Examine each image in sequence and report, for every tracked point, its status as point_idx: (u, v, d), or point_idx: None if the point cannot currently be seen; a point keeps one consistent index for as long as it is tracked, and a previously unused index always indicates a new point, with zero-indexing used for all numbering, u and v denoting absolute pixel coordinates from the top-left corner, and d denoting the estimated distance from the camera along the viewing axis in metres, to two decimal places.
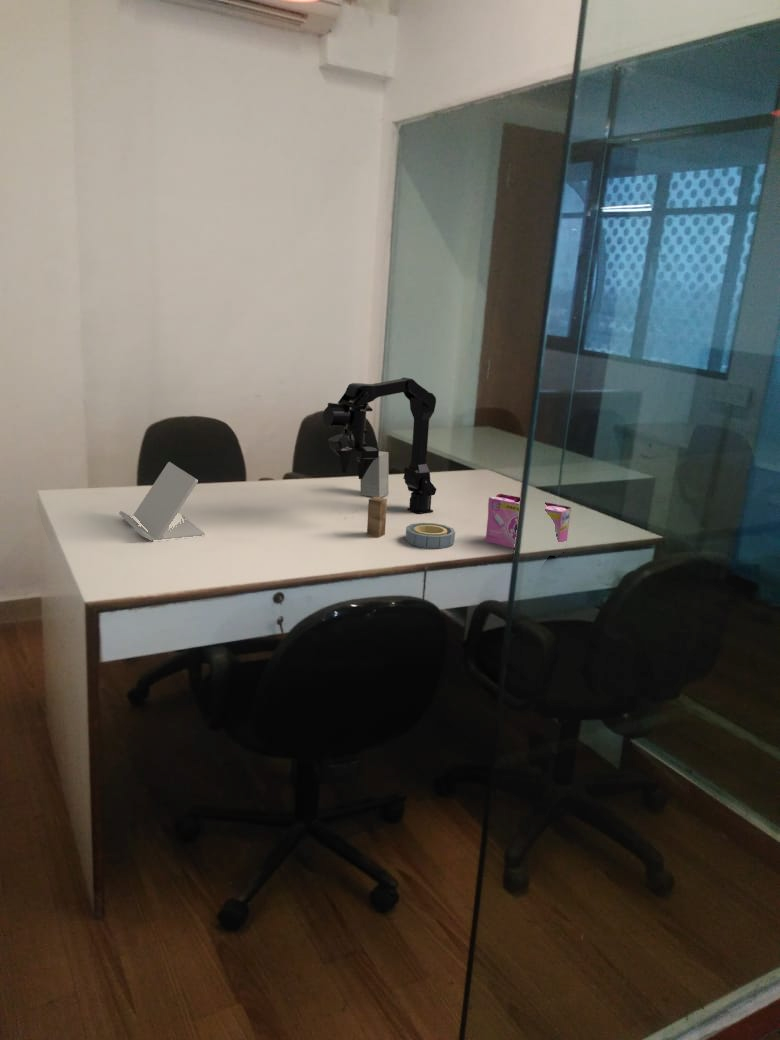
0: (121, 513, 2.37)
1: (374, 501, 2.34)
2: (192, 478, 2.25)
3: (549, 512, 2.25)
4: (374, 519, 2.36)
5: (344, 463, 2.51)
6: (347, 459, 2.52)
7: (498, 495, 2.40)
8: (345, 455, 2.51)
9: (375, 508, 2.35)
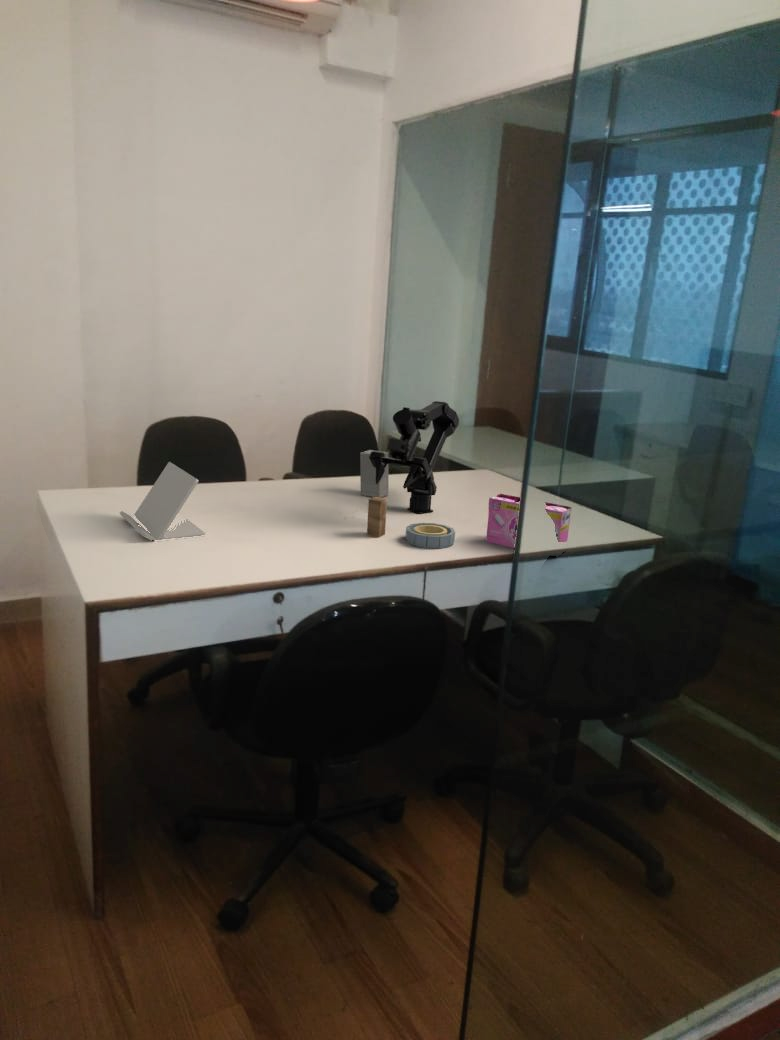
0: (122, 513, 2.37)
1: (374, 501, 2.34)
2: (193, 478, 2.25)
3: (550, 512, 2.25)
4: (374, 519, 2.36)
5: (379, 475, 2.46)
6: (381, 474, 2.47)
7: (498, 495, 2.40)
8: (381, 469, 2.47)
9: (375, 508, 2.35)
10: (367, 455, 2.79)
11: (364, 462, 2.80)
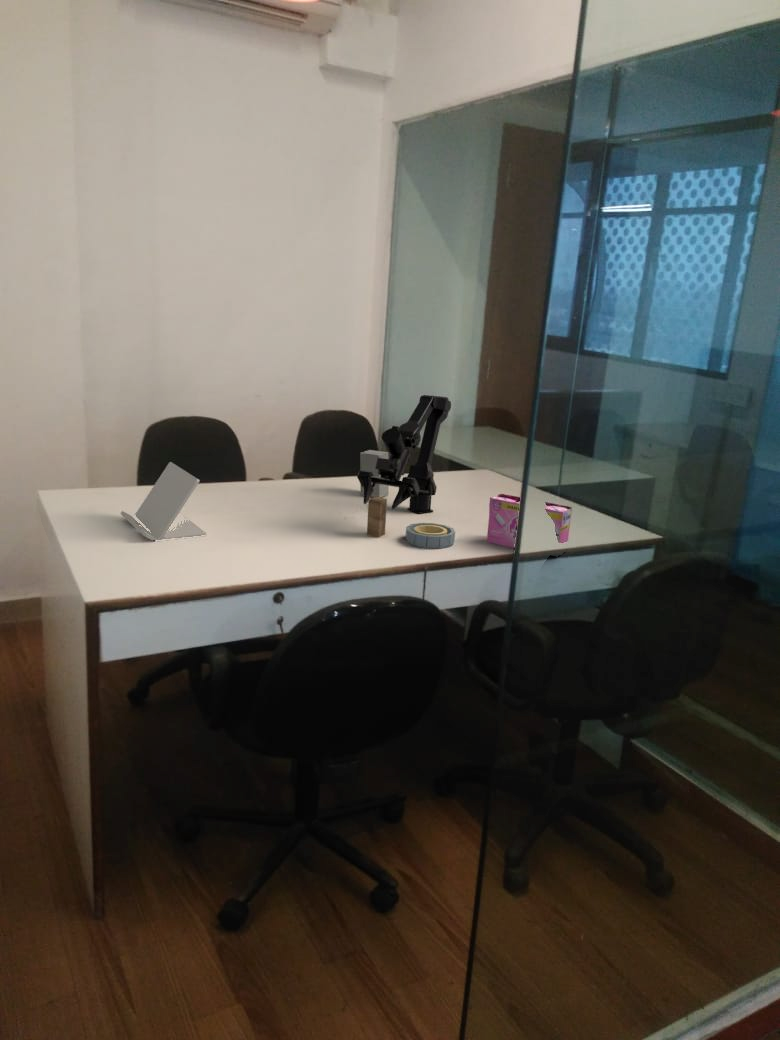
0: (122, 513, 2.37)
1: (374, 501, 2.34)
2: (193, 478, 2.25)
3: (550, 512, 2.25)
4: (374, 519, 2.36)
5: (368, 495, 2.40)
6: (369, 494, 2.42)
7: (499, 495, 2.40)
8: (370, 489, 2.42)
9: (375, 508, 2.35)
10: (367, 455, 2.79)
11: (364, 462, 2.81)
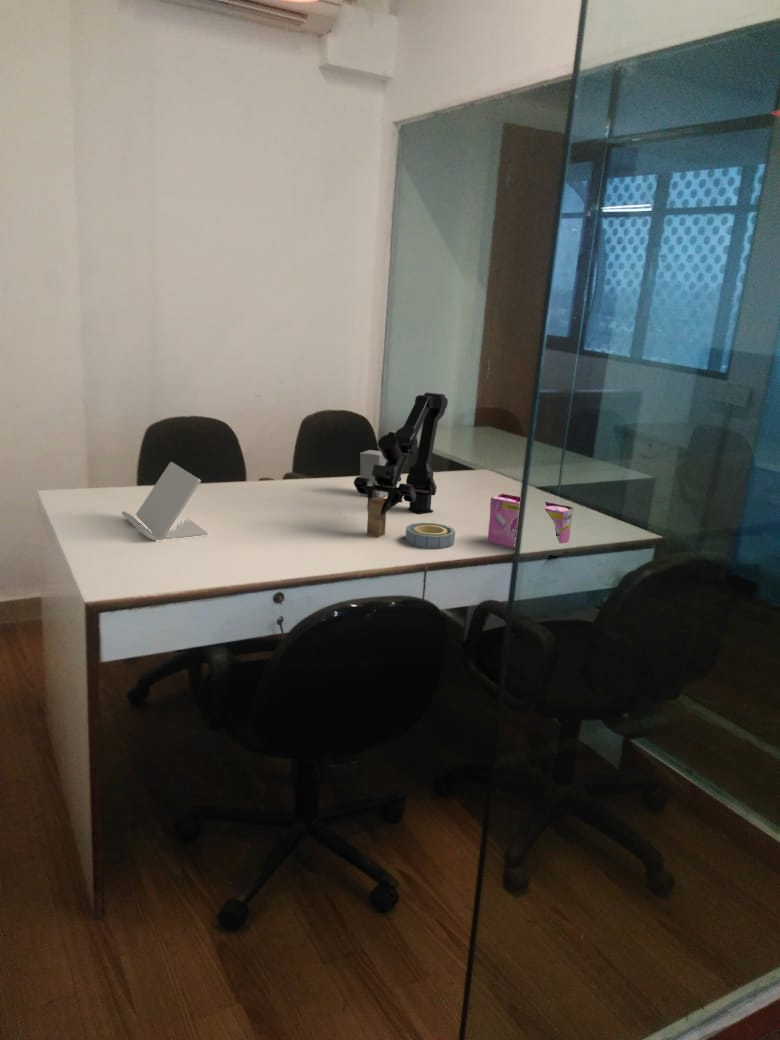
0: (123, 513, 2.37)
1: (374, 501, 2.34)
2: (195, 478, 2.25)
3: (551, 512, 2.26)
4: (374, 519, 2.36)
5: None
6: None
7: (500, 495, 2.40)
8: (374, 496, 2.39)
9: (375, 508, 2.35)
10: (367, 455, 2.79)
11: (364, 462, 2.80)
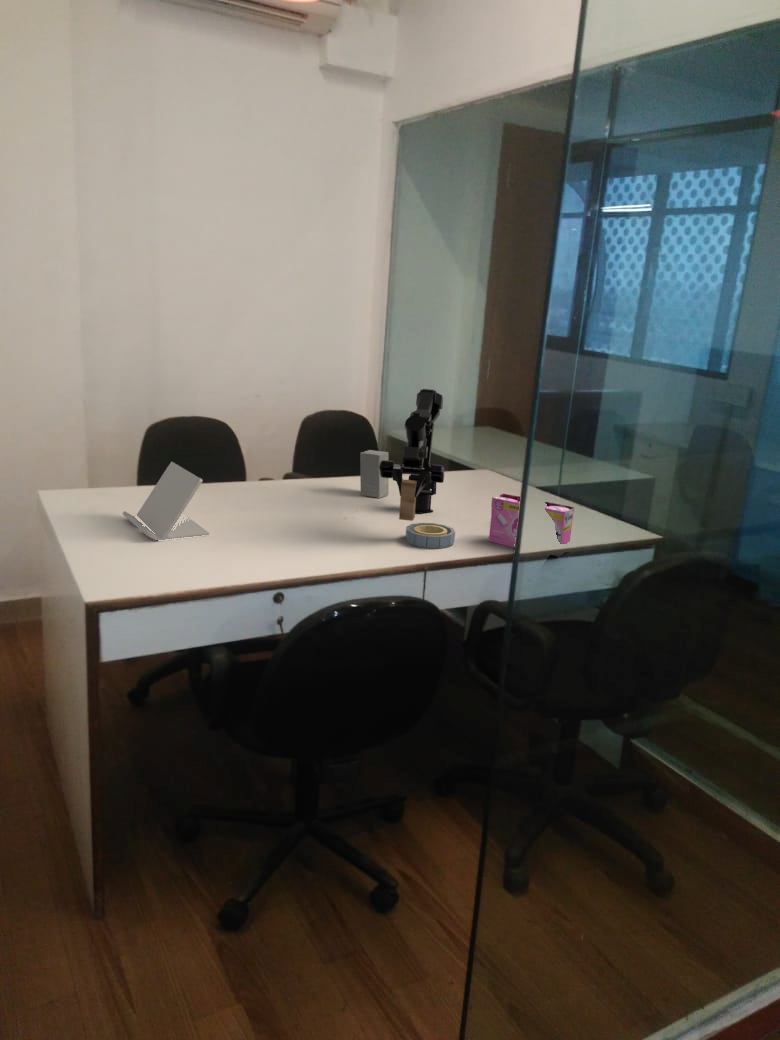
0: (124, 513, 2.37)
1: (408, 484, 2.30)
2: (196, 478, 2.25)
3: (552, 512, 2.26)
4: (407, 502, 2.31)
5: None
6: None
7: (501, 495, 2.41)
8: None
9: (409, 491, 2.30)
10: (367, 455, 2.79)
11: (364, 462, 2.81)
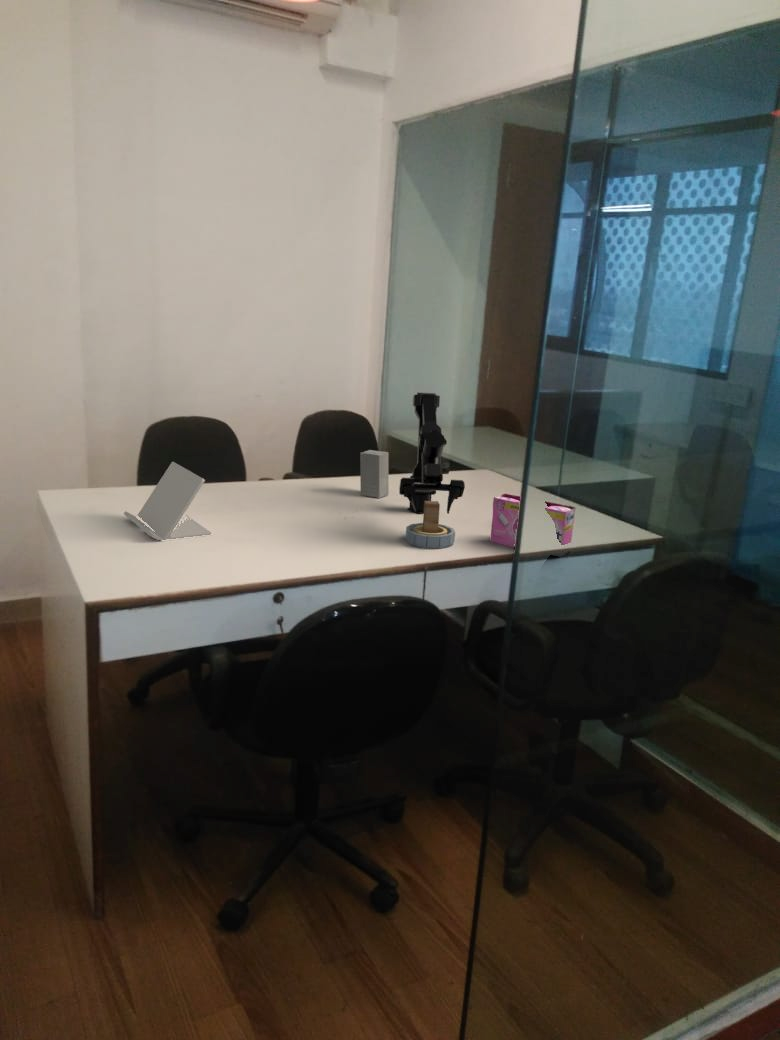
0: (126, 513, 2.37)
1: (432, 505, 2.31)
2: (198, 478, 2.26)
3: (553, 512, 2.26)
4: (432, 523, 2.32)
5: None
6: None
7: (503, 495, 2.41)
8: None
9: (433, 512, 2.31)
10: (367, 455, 2.79)
11: (364, 462, 2.80)
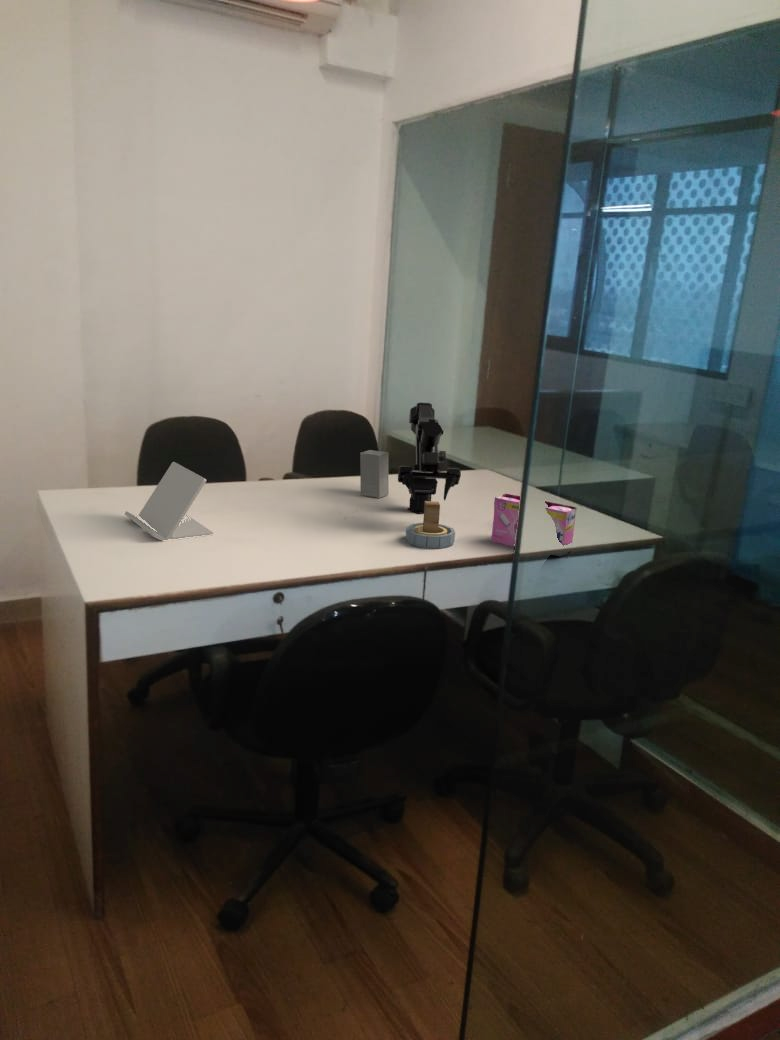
0: (127, 513, 2.37)
1: (432, 505, 2.31)
2: (200, 477, 2.26)
3: (554, 512, 2.26)
4: (432, 523, 2.32)
5: None
6: None
7: (504, 495, 2.41)
8: None
9: (433, 512, 2.31)
10: (367, 455, 2.79)
11: (364, 462, 2.80)
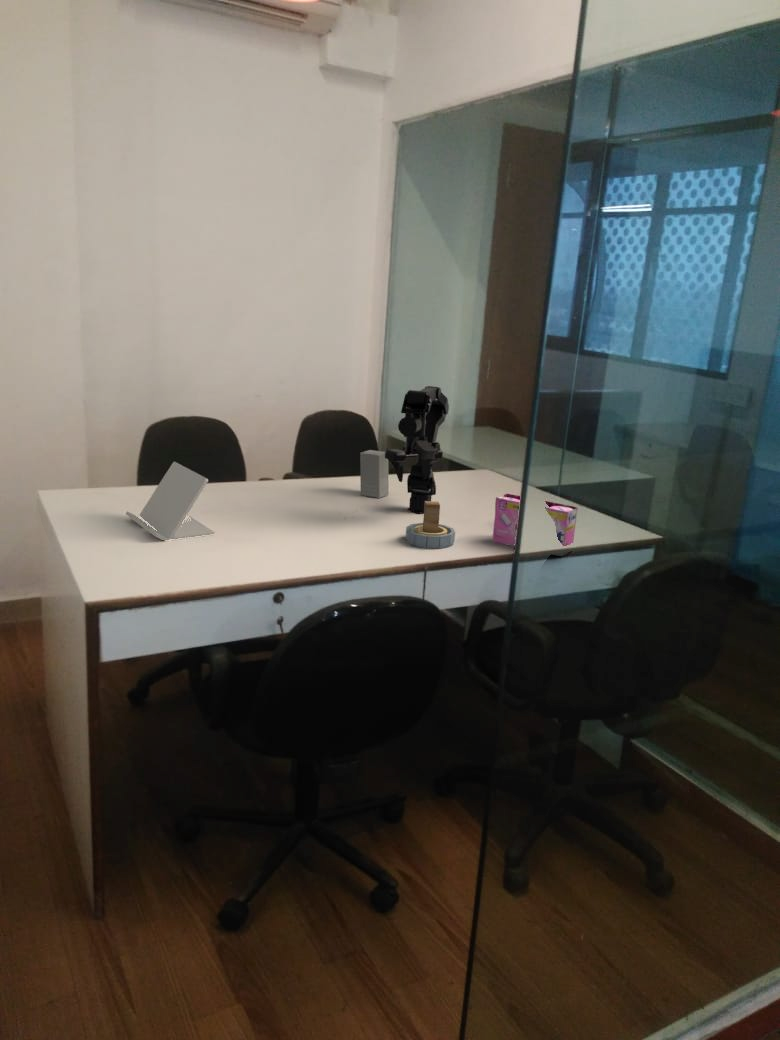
0: (128, 513, 2.37)
1: (432, 505, 2.31)
2: (202, 477, 2.26)
3: (555, 512, 2.26)
4: (432, 523, 2.32)
5: None
6: None
7: (505, 495, 2.41)
8: None
9: (433, 512, 2.31)
10: (367, 455, 2.79)
11: (364, 462, 2.80)
